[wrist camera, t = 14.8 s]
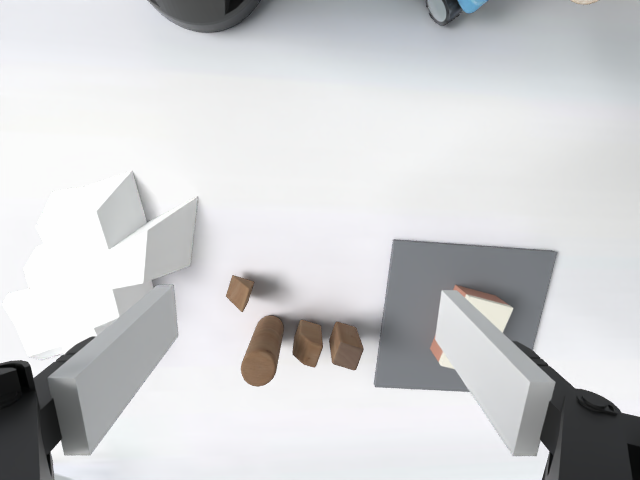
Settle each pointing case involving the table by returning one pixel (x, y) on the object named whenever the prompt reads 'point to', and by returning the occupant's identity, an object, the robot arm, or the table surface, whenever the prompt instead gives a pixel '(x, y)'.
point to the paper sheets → (95, 262)
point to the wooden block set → (306, 344)
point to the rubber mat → (424, 300)
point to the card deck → (487, 306)
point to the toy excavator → (463, 8)
